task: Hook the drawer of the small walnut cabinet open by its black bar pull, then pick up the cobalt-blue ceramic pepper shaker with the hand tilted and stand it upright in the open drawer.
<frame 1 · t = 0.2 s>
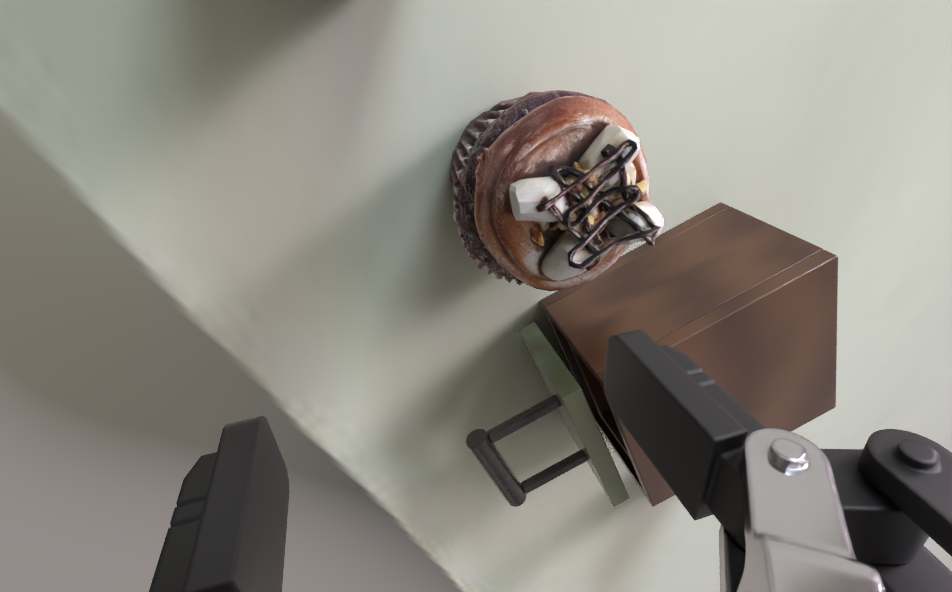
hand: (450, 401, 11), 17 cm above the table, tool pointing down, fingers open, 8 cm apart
drawer: (609, 396, 32), point 4 cm above the table, slide at 1.0 cm
cabinet: (649, 319, 36), on the table
cupcake: (515, 171, 27), on the table
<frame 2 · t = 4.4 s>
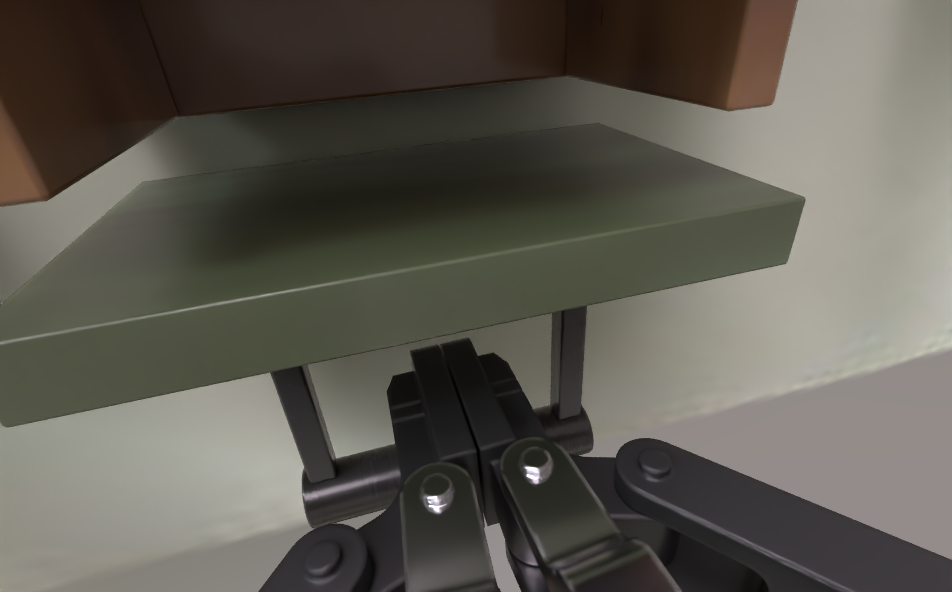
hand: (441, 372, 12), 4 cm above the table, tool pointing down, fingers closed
drawer: (397, 75, 8), point 4 cm above the table, slide at 3.8 cm, touching gripper
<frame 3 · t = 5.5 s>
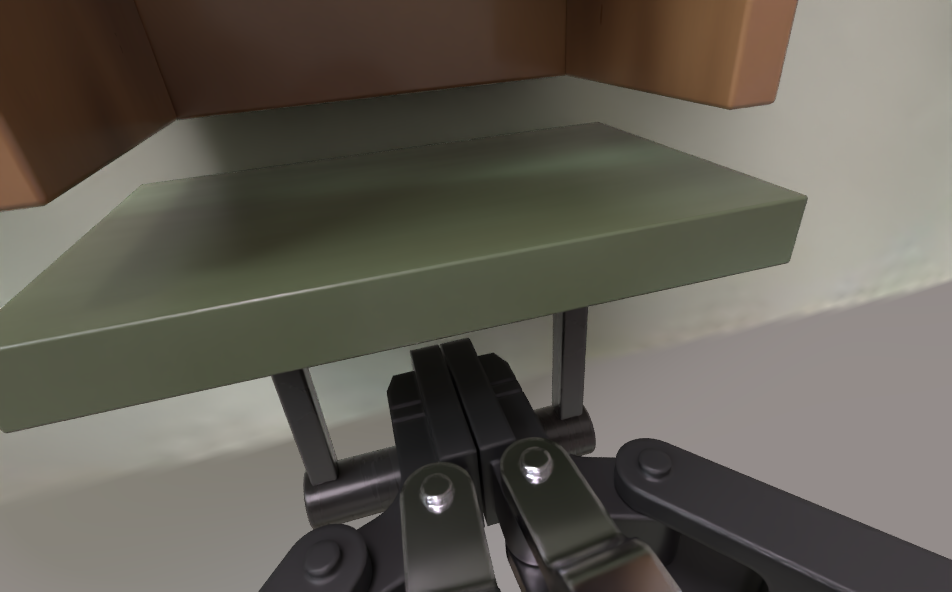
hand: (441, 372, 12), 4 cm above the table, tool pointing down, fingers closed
drawer: (395, 76, 8), point 4 cm above the table, slide at 8.4 cm, touching gripper
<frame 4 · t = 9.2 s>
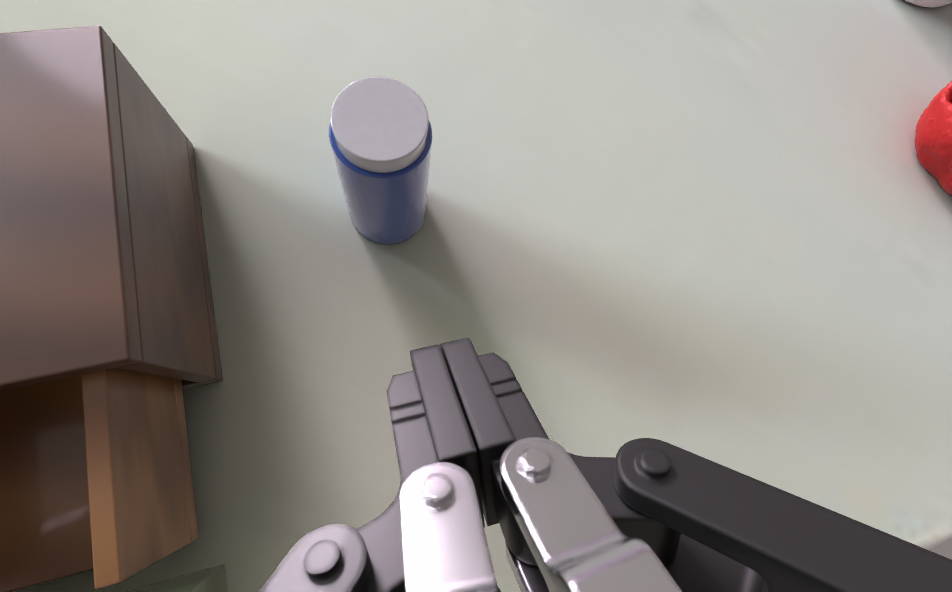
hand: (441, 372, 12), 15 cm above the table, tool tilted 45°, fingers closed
pomegranate: (951, 157, 36), on the table
drawer: (20, 579, 18), point 4 cm above the table, slide at 8.5 cm
cabinet: (76, 278, 25), on the table
pepper shaker: (387, 209, 28), on the table
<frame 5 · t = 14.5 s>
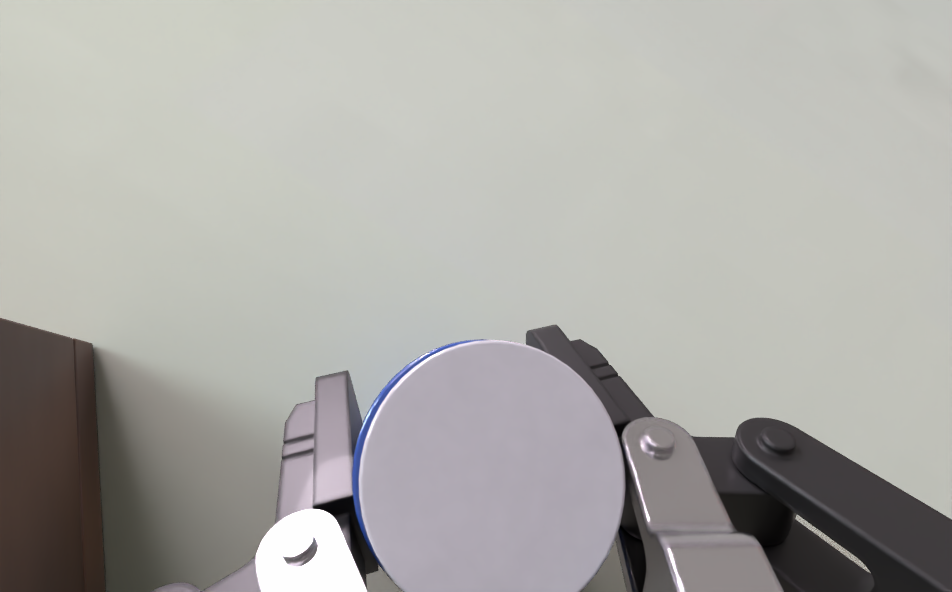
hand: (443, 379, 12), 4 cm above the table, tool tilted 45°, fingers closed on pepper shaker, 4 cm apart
pepper shaker: (447, 451, 16), on the table, touching gripper
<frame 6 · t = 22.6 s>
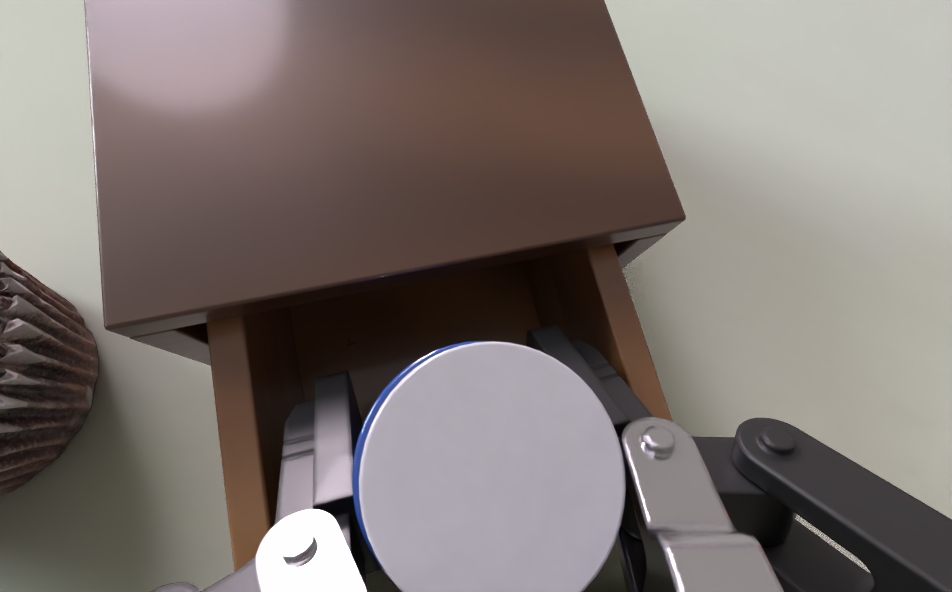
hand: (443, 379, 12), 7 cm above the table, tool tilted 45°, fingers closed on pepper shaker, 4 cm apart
drawer: (473, 538, 13), point 4 cm above the table, slide at 8.4 cm
cabinet: (385, 184, 20), on the table
pepper shaker: (448, 452, 16), point 2 cm above the table, touching gripper
when the fingers open (7 cm above the table, at t = 24.3 s): pepper shaker stays where it is, resting on drawer.
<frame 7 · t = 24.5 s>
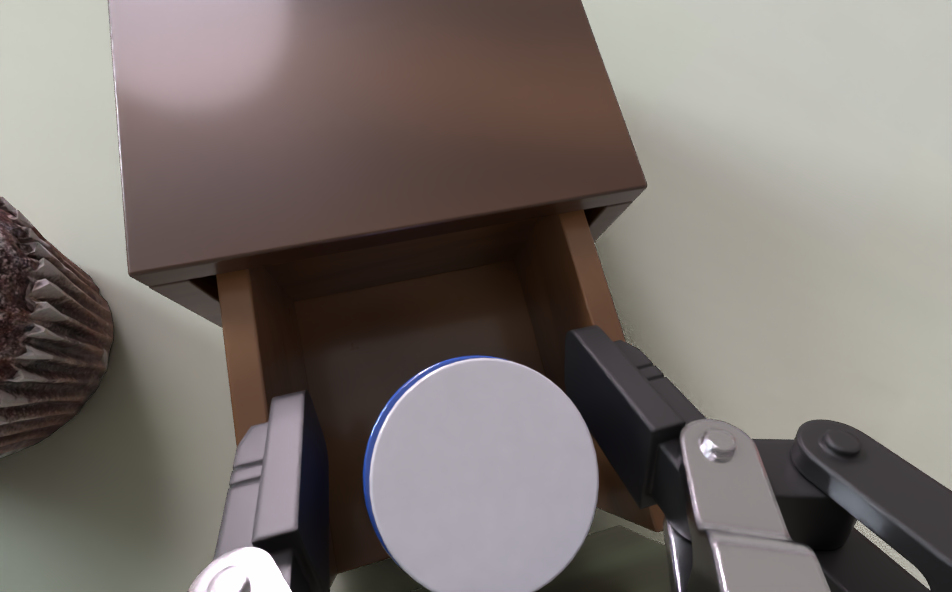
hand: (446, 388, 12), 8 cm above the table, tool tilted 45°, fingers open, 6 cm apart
drawer: (468, 531, 14), point 4 cm above the table, slide at 9.8 cm, touching pepper shaker
cabinet: (381, 166, 22), on the table
pepper shaker: (448, 451, 17), point 2 cm above the table, touching drawer
cupcake: (0, 350, 18), on the table
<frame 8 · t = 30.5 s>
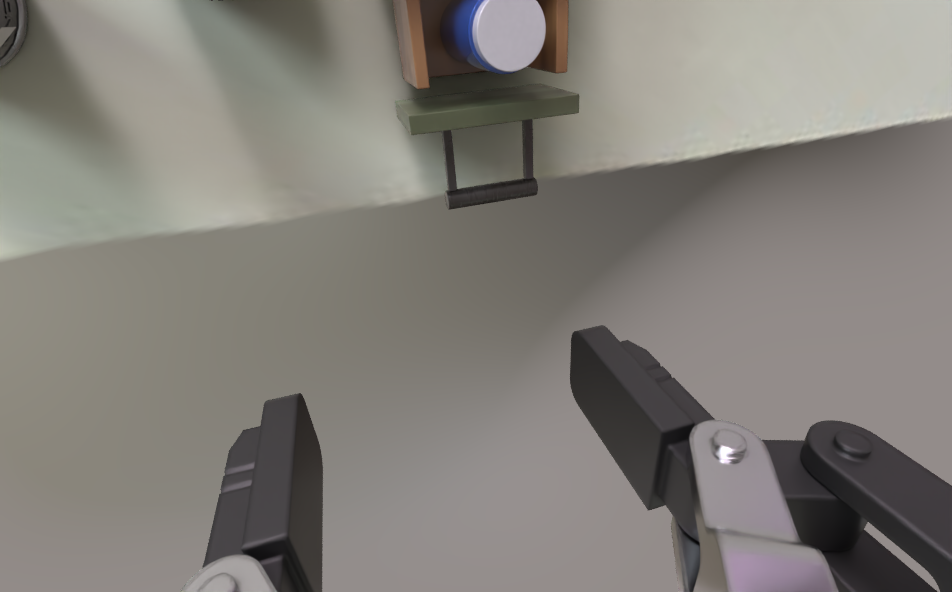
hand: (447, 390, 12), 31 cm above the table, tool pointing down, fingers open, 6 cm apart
drawer: (480, 66, 33), point 4 cm above the table, slide at 9.8 cm, touching pepper shaker
pepper shaker: (470, 30, 34), point 2 cm above the table, touching drawer
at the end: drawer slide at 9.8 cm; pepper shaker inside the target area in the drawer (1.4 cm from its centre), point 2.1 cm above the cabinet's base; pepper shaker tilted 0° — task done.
